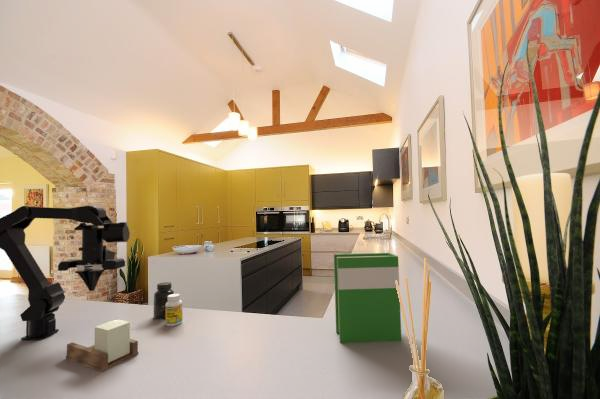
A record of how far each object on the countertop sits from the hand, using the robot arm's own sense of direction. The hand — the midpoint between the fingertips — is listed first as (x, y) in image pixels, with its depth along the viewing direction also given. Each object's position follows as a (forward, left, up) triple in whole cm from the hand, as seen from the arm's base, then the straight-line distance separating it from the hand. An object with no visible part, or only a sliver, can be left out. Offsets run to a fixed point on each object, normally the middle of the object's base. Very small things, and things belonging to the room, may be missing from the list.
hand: (92, 290), depth 92 cm
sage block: (+20, -19, -13) cm, 30 cm away
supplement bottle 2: (+25, +5, -13) cm, 29 cm away
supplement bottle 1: (+18, +12, -13) cm, 25 cm away
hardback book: (+89, -8, -13) cm, 90 cm away
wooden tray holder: (+16, -17, -13) cm, 27 cm away
